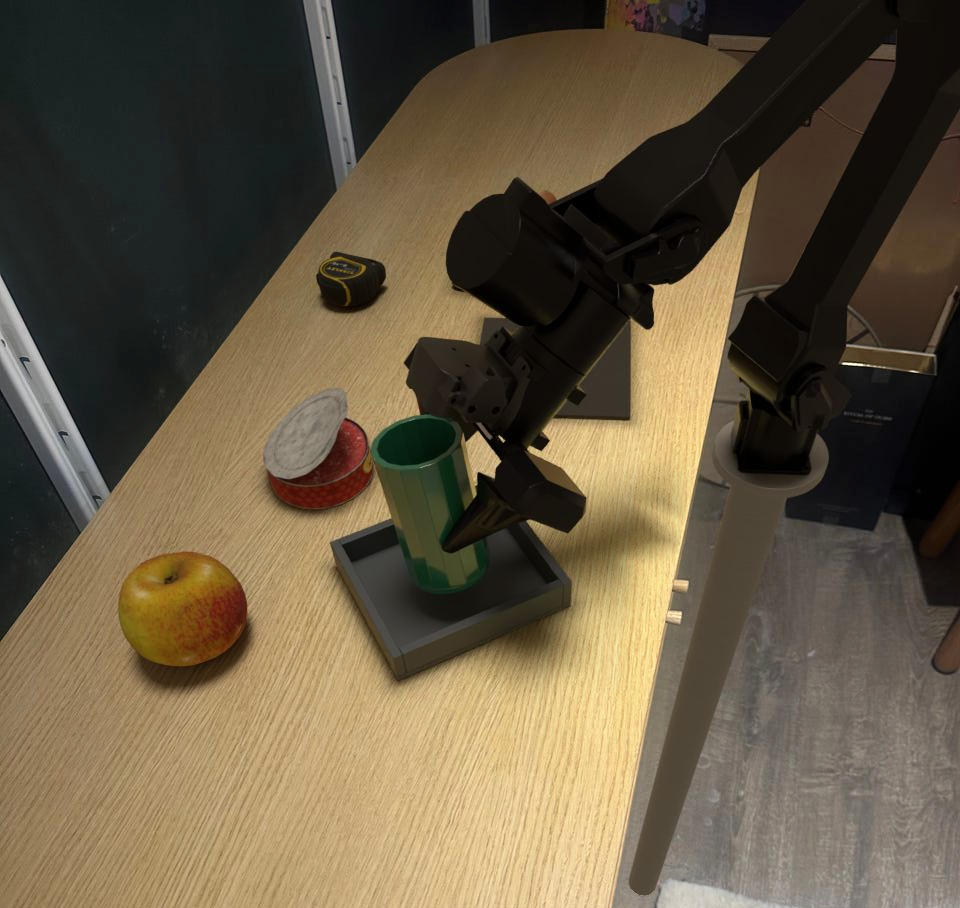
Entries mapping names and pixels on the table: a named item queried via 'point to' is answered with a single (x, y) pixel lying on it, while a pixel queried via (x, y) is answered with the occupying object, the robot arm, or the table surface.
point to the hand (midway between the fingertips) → (425, 519)
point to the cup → (429, 499)
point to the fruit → (182, 608)
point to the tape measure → (349, 279)
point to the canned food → (318, 453)
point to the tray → (448, 595)
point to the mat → (593, 377)
